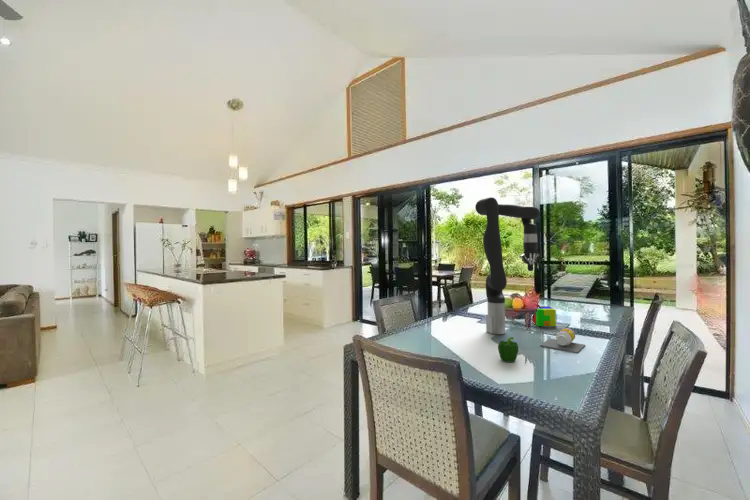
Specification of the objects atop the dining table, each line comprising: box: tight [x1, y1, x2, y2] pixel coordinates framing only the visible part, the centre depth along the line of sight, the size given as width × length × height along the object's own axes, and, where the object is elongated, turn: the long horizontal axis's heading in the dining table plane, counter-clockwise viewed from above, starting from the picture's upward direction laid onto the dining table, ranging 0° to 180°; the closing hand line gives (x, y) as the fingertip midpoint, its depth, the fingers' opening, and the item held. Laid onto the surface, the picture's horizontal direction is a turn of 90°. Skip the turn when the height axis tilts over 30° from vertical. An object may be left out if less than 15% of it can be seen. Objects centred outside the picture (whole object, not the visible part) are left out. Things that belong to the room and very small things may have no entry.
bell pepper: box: [497, 336, 519, 363], centre depth 146 cm, size 8×8×10 cm
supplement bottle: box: [555, 327, 576, 346], centre depth 164 cm, size 7×7×13 cm
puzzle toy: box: [531, 305, 557, 327], centre depth 204 cm, size 10×10×10 cm
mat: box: [539, 338, 586, 354], centre depth 164 cm, size 14×16×1 cm
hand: (530, 270), depth 199 cm, fingers closed
